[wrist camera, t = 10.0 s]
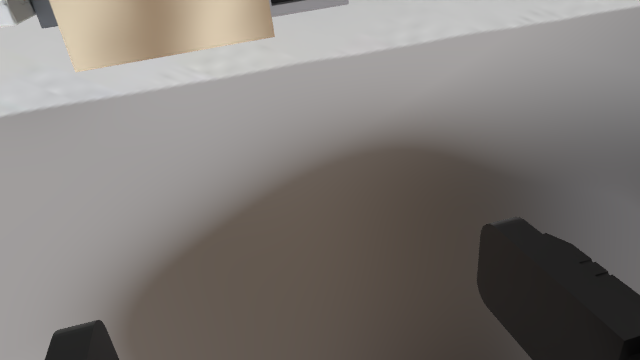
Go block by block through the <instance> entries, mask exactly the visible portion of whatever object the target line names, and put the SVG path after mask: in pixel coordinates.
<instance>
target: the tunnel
mask: <svg viewBox="0 0 640 360" xmlns="http://www.w3.org/2000/svg"><path fill="white" fill-rule="evenodd" d="M49 2H50V4H51V7H52V10H53V13H54V15H55V18H56V21H57V23H58V26H59V29H60V32H61V34H62V37H63V40H64V42H65V45H66V48H67V51H68V53H69V56H70V59H71V62H72V64H73V67H74V70H75V72H80V71H86V70H92V69H97V68H103V67H108V66H114V65H119V64H125V63H131V62H136V61H142V60H147V59H153V58H159V57H164V56H170V55H175V54H181V53H187V52H192V51H198V50H203V49H209V48H215V47H220V46H226V45H231V44H237V43H242V42H248V41H254V40H259V39H265V38H270V37H275V35H274V29H273V23H272V17H271V11H270V4H269V0H49Z"/></svg>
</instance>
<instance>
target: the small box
mask: <svg viewBox="0 0 640 360" xmlns="http://www.w3.org/2000/svg"><path fill="white" fill-rule="evenodd" d="M35 15H37V14H36V12H35V9H34V6H33V4H32V1H31V0H0V28H3V27H9V26H15V25H18V24H19V23H21V22H23V21H25V20H27V19H29V18H31V17H33V16H35Z"/></svg>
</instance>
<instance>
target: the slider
mask: <svg viewBox="0 0 640 360" xmlns="http://www.w3.org/2000/svg"><path fill="white" fill-rule="evenodd" d="M31 1H32V4H33V6H34V9H35V12H36V14H37V17H38V19H39V22H40V25H41V27H42V28H48V27H55V26H58V23H57V21H56V18H55V15H54V13H53V10H52V7H51V4H50V2H49V0H31Z"/></svg>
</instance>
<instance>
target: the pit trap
mask: <svg viewBox="0 0 640 360" xmlns="http://www.w3.org/2000/svg"><path fill="white" fill-rule="evenodd" d="M269 4H270V11H271V17H276V16H282V15H287V14H293V13H299V12H305V11H311V10H317V9H323V8H329V7H334V6H340V5H346V4H349V3H348V0H269Z"/></svg>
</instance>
